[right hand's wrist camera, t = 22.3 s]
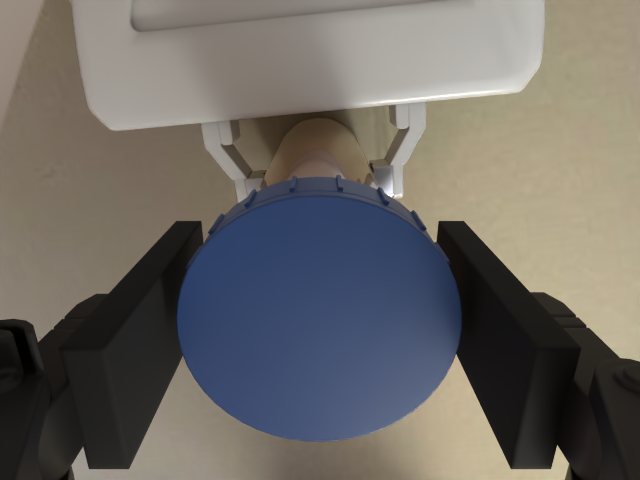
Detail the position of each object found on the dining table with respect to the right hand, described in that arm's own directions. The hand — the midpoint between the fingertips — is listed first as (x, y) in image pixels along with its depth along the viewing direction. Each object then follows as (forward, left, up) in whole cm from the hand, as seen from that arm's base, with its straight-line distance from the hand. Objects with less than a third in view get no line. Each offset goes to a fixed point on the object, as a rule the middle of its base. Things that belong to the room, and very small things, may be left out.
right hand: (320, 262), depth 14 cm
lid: (0, 0, +4) cm, 4 cm away
